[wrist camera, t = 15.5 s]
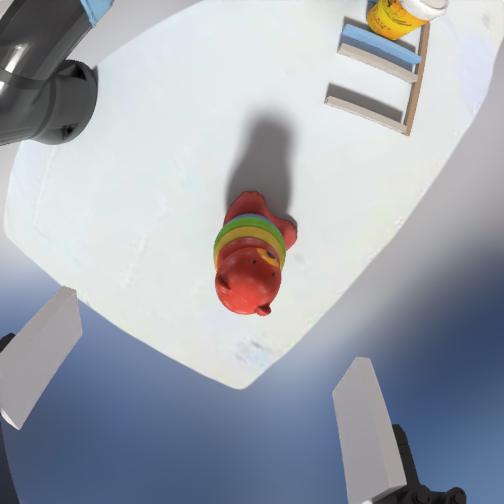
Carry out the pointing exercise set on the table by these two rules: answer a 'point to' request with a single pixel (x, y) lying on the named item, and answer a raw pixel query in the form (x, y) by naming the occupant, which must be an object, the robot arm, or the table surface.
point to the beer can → (403, 16)
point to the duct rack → (387, 67)
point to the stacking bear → (251, 255)
